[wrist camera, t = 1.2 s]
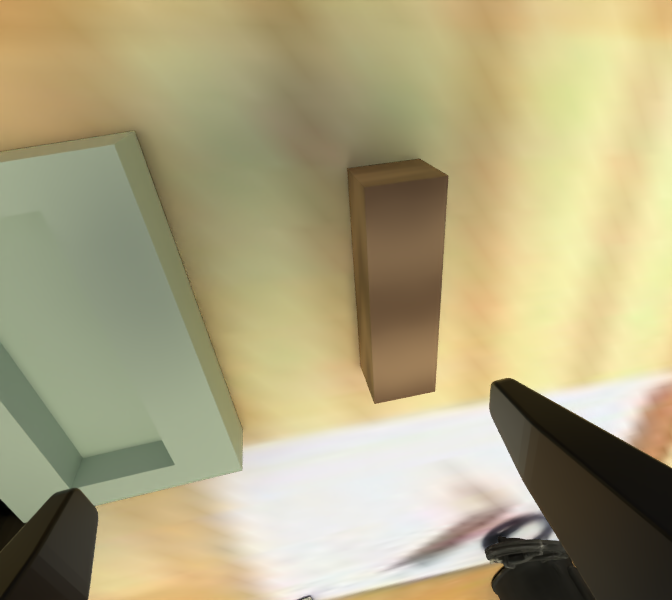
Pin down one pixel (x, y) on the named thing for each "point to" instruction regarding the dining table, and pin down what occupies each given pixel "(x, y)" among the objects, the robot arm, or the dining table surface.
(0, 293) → the sage cradle
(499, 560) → the milk frother
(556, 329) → the dining table surface
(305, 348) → the dining table surface
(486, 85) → the dining table surface
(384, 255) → the walnut peg
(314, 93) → the dining table surface
